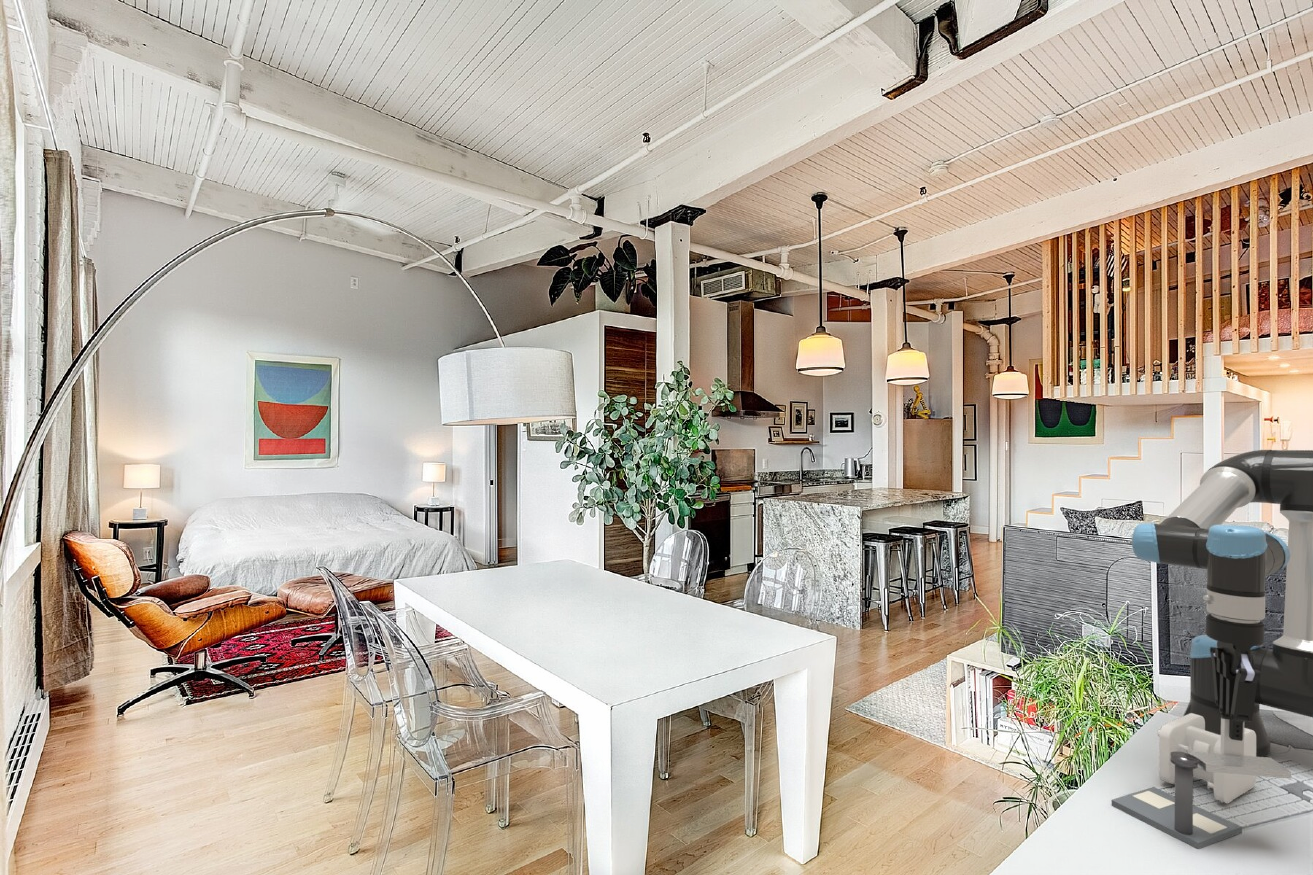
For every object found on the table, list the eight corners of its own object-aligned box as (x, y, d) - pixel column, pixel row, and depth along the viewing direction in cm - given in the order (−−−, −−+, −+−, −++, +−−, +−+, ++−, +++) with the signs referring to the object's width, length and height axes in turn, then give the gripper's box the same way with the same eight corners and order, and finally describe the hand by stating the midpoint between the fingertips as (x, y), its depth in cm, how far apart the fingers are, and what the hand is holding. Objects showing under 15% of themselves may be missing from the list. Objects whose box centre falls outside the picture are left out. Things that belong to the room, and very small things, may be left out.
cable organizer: (1222, 810, 121) (1222, 746, 121) (1155, 784, 130) (1155, 724, 130) (1257, 789, 128) (1257, 728, 128) (1191, 765, 137) (1192, 708, 137)
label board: (1153, 791, 127) (1154, 728, 127) (1241, 832, 114) (1242, 761, 114) (1111, 805, 122) (1111, 739, 122) (1198, 848, 109) (1198, 775, 109)
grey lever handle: (1270, 764, 112) (1270, 757, 112) (1290, 778, 108) (1291, 771, 108) (1164, 755, 115) (1164, 749, 115) (1179, 769, 111) (1179, 761, 111)
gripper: (1193, 605, 121) (1190, 735, 122) (1223, 624, 109) (1220, 769, 110) (1244, 610, 119) (1242, 743, 119) (1282, 630, 107) (1279, 778, 107)
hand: (1231, 755), depth 114 cm, fingers closed
